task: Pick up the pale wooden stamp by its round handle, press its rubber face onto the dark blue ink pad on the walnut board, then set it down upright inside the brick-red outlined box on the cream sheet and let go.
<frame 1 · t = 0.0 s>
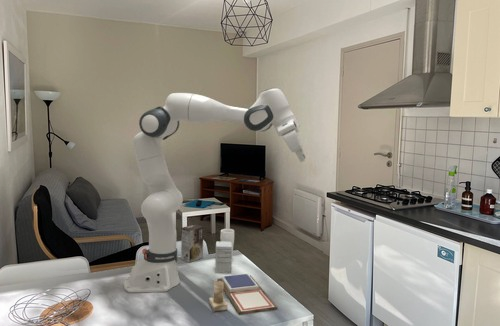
hand: (303, 160, 146), 54 cm above the table, tool tilted 30°, fingers open, 8 cm apart
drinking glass: (226, 260, 189), on the table
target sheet: (251, 302, 145), resting on stamping board
coffee box: (192, 259, 189), on the table
supplement box: (223, 270, 176), on the table
wooden stamp: (218, 307, 141), on the table
ink pad: (239, 286, 160), resting on stamping board
stamping board: (245, 294, 153), on the table
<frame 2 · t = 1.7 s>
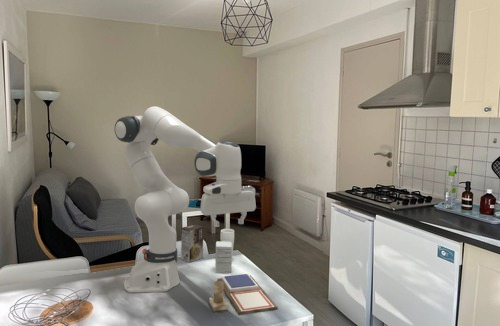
hand: (228, 225, 138), 31 cm above the table, tool pointing down, fingers open, 8 cm apart
nothing on the table moved.
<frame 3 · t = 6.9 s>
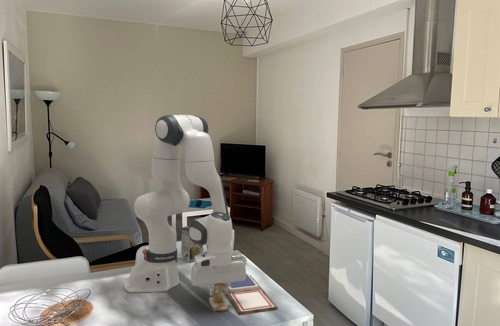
hand: (218, 293, 141), 5 cm above the table, tool pointing down, fingers closed on wooden stamp, 3 cm apart
wooden stamp: (218, 307, 141), on the table, touching gripper
everything else where it was.
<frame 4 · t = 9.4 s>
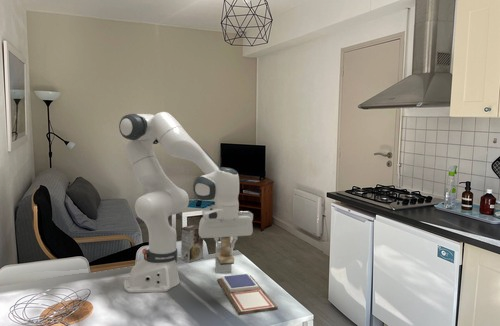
hand: (225, 247, 144), 21 cm above the table, tool pointing down, fingers closed on wooden stamp, 3 cm apart
wooden stamp: (225, 261, 144), point 16 cm above the table, touching gripper
everything else where it was.
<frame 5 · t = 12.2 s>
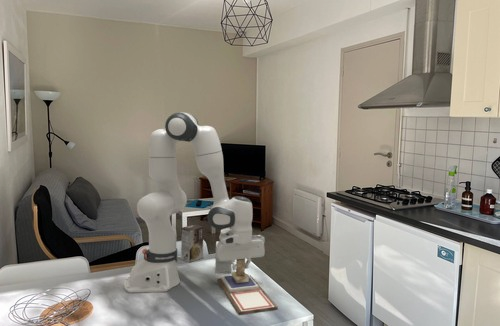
hand: (240, 268, 159), 8 cm above the table, tool pointing down, fingers closed on wooden stamp, 3 cm apart
wooden stamp: (240, 280, 159), point 3 cm above the table, touching gripper, ink pad
everything else where it was.
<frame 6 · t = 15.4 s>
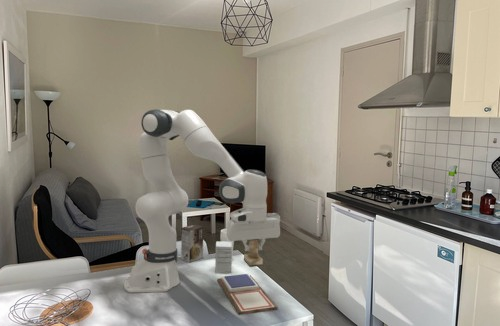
hand: (253, 250, 143), 21 cm above the table, tool pointing down, fingers closed on wooden stamp, 3 cm apart
wooden stamp: (252, 262, 144), point 16 cm above the table, touching gripper
everything else where it was.
when the fingers open (7 cm above the table, at t = 18.0 s): wooden stamp drops 1 cm, resting on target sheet.
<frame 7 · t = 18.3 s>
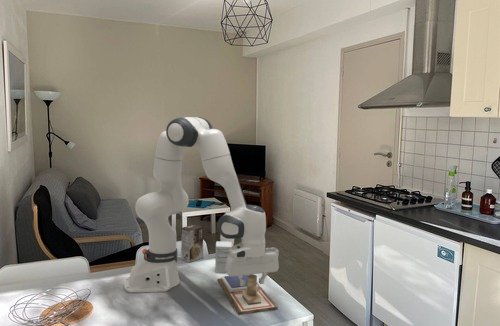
hand: (252, 284, 145), 7 cm above the table, tool pointing down, fingers open, 6 cm apart
wooden stamp: (251, 300, 145), point 1 cm above the table, touching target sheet
everything else where it was.
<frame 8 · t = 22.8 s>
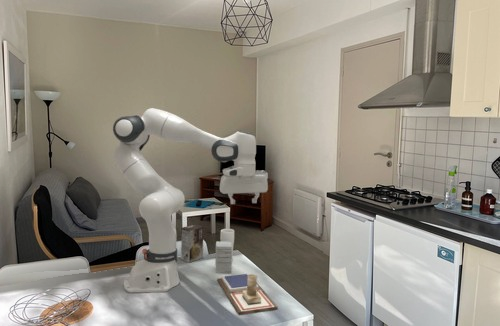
hand: (243, 203, 160), 34 cm above the table, tool pointing down, fingers open, 8 cm apart
nothing on the table moved.
at the end: wooden stamp inside the target area on the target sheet (0.1 cm from its centre), point 1.1 cm above the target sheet's base; wooden stamp tilted 0°; the gripper is holding nothing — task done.
